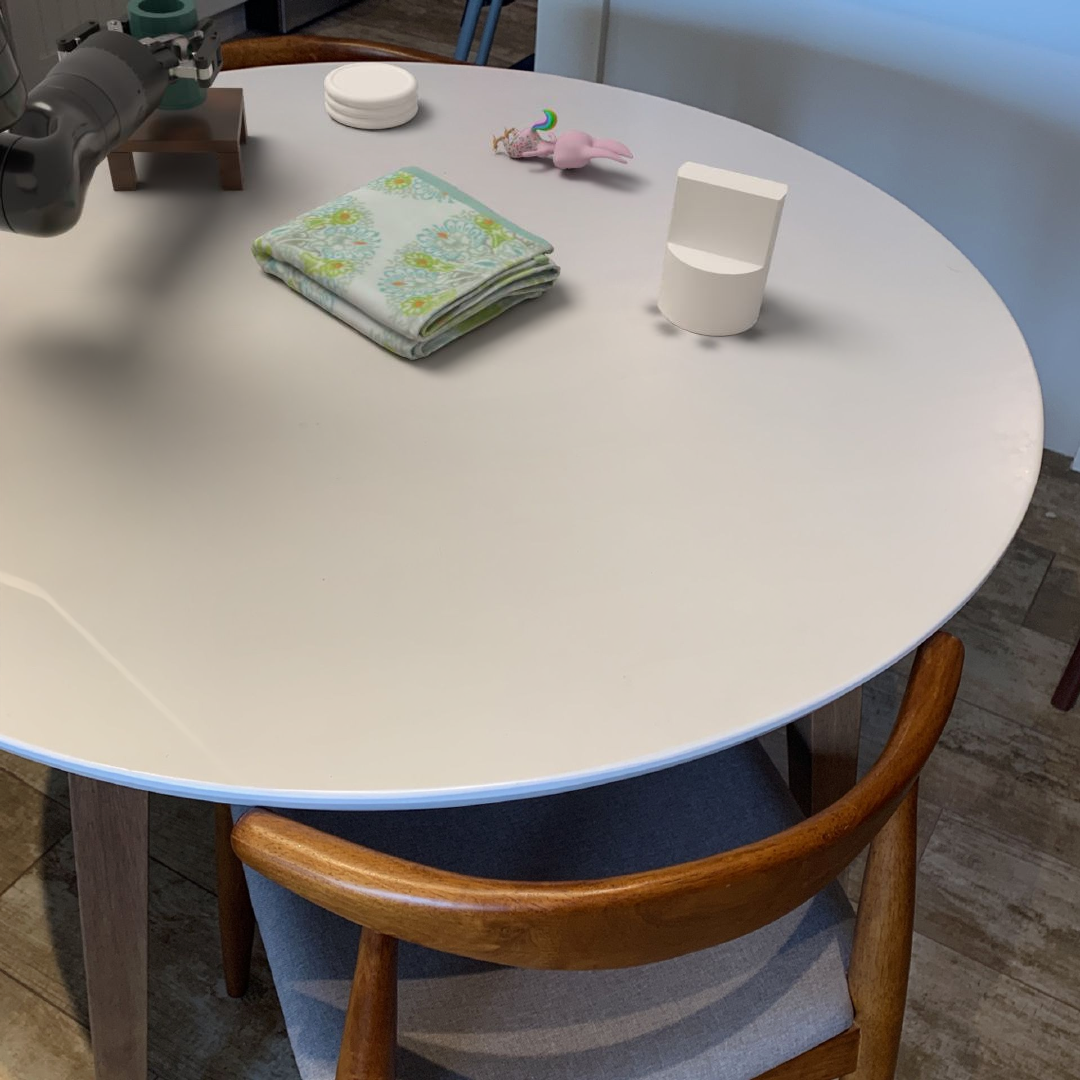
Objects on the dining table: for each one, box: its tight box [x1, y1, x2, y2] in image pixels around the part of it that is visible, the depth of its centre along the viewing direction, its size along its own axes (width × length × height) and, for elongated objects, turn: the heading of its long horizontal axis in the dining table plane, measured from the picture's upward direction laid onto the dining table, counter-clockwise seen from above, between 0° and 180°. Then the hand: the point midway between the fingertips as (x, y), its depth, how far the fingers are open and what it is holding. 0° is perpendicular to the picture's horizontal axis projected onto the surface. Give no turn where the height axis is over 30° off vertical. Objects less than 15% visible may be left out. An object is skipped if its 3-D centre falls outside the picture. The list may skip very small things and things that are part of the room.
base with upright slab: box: [657, 160, 789, 337], centre depth 100 cm, size 9×9×12 cm
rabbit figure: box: [492, 108, 634, 170], centre depth 120 cm, size 6×6×15 cm
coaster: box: [323, 62, 419, 130], centre depth 127 cm, size 10×10×4 cm
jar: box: [126, 0, 207, 111], centre depth 110 cm, size 6×6×8 cm
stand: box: [106, 87, 249, 191], centre depth 115 cm, size 12×12×5 cm
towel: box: [250, 165, 561, 361], centre depth 102 cm, size 18×21×5 cm
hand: (174, 24), depth 110 cm, fingers closed on jar, 6 cm apart
